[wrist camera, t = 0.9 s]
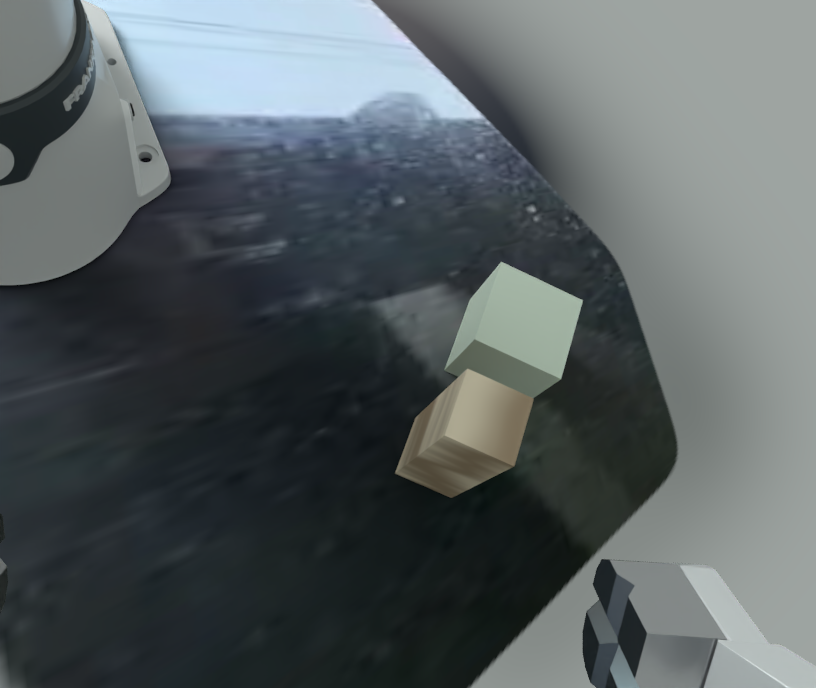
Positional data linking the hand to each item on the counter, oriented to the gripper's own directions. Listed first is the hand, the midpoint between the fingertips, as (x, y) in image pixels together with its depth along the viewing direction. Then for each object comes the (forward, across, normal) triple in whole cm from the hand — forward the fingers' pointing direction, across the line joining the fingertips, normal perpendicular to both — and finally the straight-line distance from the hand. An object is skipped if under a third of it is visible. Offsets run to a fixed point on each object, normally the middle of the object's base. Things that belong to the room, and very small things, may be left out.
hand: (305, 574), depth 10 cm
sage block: (+39, -10, +9) cm, 41 cm away
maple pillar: (+33, -6, +15) cm, 37 cm away
